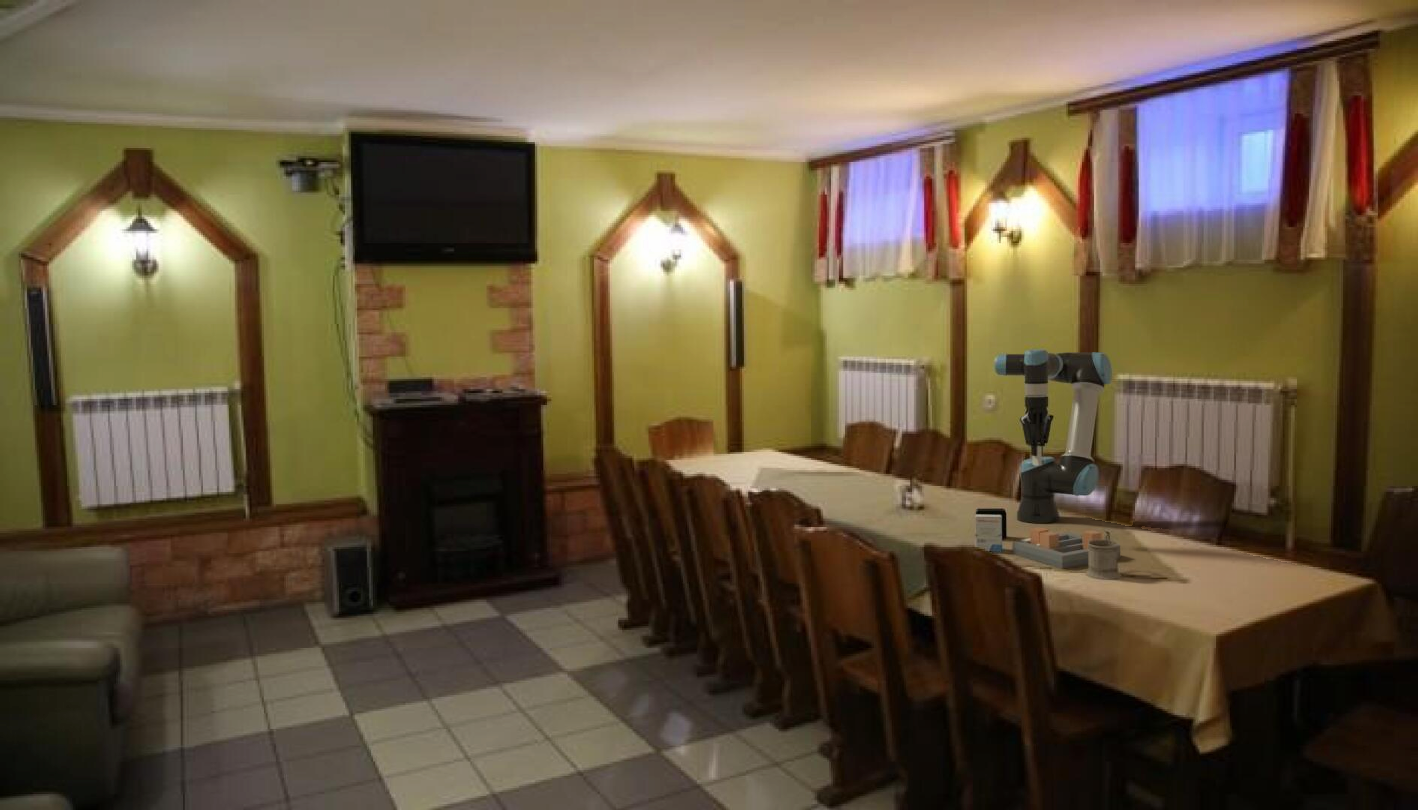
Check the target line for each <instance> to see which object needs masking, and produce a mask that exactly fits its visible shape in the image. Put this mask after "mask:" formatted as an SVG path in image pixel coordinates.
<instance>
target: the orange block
mask: <svg viewBox="0 0 1418 810" xmlns="http://www.w3.org/2000/svg"><path fill="white" fill-rule="evenodd" d="M1081 534H1082V535H1081V536H1082V550H1083V549H1088V542H1089V541H1092V540H1103V539H1102V532H1101V531H1096V530H1094V529H1093V530H1092V529H1091V530H1084V531H1082V532H1081Z"/></svg>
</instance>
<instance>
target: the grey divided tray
mask: <svg viewBox="0 0 1418 810" xmlns="http://www.w3.org/2000/svg"><path fill="white" fill-rule="evenodd" d="M1058 534H1059V547H1058V548H1052V549H1047V548H1044V547H1040V544H1037V545H1033V544H1030V538H1024V539H1020V540H1015V541H1012V545H1011V546H1012V547H1011V548H1012V555H1015V556H1019V557H1021V558H1025V559H1029V560H1031V561H1035V562H1039V563H1042V564H1045V565H1047V566H1052V567H1054V568H1058V569H1061V570H1064V569H1070V568H1074V567H1079V566H1085V565H1086V566H1087V565H1089V548H1088V549H1083V550H1082V535H1081V534H1077V533H1073V532H1070V531H1068V532H1062V533H1058ZM1118 559H1121V545H1120V544H1119V546H1118Z"/></svg>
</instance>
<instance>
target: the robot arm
mask: <svg viewBox="0 0 1418 810" xmlns="http://www.w3.org/2000/svg"><path fill="white" fill-rule="evenodd" d="M993 364H994V365H993V366H994V367H993V369H994V371H995V373H996V374H997V375H998V376H1013V377H1014V376H1015V377H1016V376H1017V377H1018V376H1019V377H1021V376H1022V377H1023V376H1024V395H1025V397H1024V408H1025V409H1026V410H1025V414H1024V416H1023V417H1022V416H1021V417H1020V418H1019V421H1020V423H1021V425H1022V430H1023V436H1024V440H1025V444H1026V445H1028V446H1029V447H1030V453H1031V458H1027V459H1024V460H1023V461H1022V462H1021V465H1020V466H1021V467H1020V468H1021V469H1020V470H1021V471H1020V482H1021V483H1020V486H1021V487H1020V488H1021V490H1020V491H1021V498H1020V503H1019V507H1018V509H1017V511H1016V520H1018V521H1019V522H1024V523H1030V524H1031V523H1032V524H1050V523H1055V522H1058V521H1060V513H1059V511H1058V506H1057V504H1056V501H1055V494H1058V495H1059V494H1060V495H1072V496H1076V497H1078V496H1090V495H1091V494H1092V493H1093V492H1094V490H1095V489H1096V486H1097V484H1098V480H1099V468H1098V466H1097V465H1096V464H1095V460H1094V458H1093V457H1092V455H1091V454H1092V453H1091V452H1092V446H1093V440H1094V430H1095V424H1096V416H1097V409H1098V402H1099V397H1100V393H1102V392H1104V390H1105V385H1109V384H1110V383H1111V381H1112V378H1113V377H1112V376H1113V373H1112V371H1113V370H1112V364H1111V360H1110V358H1109V356H1108V355H1107V354H1106V353H1104V352H1096V351H1095V352H1094V351H1093V352H1070V351H1069V352H1059V353H1053V352H1052V353H1051V352H1048V351H1047V349H1029V350H1026V351H1025V352H1024V353H1004V354H1002V353H1000V354H997V355H996V357H995V358H994V363H993ZM1049 381H1052V382H1056V383H1062V384H1070V387H1071V388H1072V389H1073V391H1074V392H1073V398H1072V405H1071V406H1072V407H1071V412H1070V418H1069V426H1068V433H1067V440H1066V447H1065V452H1064V453H1063V454H1062V455H1060V458H1059V461H1055V458H1054V457H1053V456H1043V455H1044V451H1043V450H1044V447H1046V444H1048V443H1049V438H1050V432H1051V426H1052V422H1053V419H1054V415H1053V414H1050V413H1049V411H1048V409H1047V408H1048V407H1049V397H1048V395H1049Z"/></svg>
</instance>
